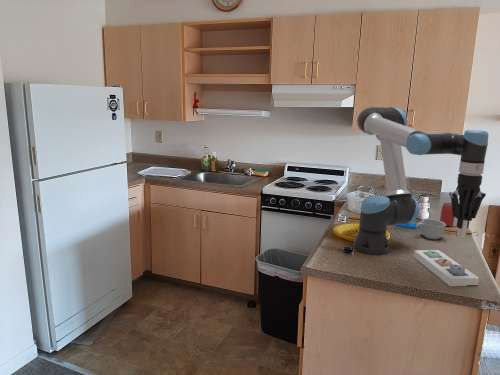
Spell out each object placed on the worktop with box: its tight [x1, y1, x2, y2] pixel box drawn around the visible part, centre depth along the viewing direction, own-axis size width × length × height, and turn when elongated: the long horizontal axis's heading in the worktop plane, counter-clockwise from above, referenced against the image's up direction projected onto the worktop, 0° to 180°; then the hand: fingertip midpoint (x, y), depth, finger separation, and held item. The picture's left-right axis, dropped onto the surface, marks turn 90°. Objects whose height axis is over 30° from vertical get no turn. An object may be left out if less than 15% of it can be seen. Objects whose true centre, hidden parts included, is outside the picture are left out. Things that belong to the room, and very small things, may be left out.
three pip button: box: [437, 259, 452, 267], centre depth 153 cm, size 5×5×3 cm
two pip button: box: [449, 264, 466, 276], centre depth 145 cm, size 5×5×3 cm
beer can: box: [439, 202, 455, 227], centre depth 207 cm, size 7×7×12 cm
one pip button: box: [426, 251, 440, 258], centre depth 161 cm, size 5×5×3 cm
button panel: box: [413, 249, 480, 287], centre depth 153 cm, size 11×26×3 cm, turn 6°
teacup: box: [415, 218, 446, 240], centre depth 189 cm, size 14×11×8 cm
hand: (461, 236), depth 143 cm, fingers closed
